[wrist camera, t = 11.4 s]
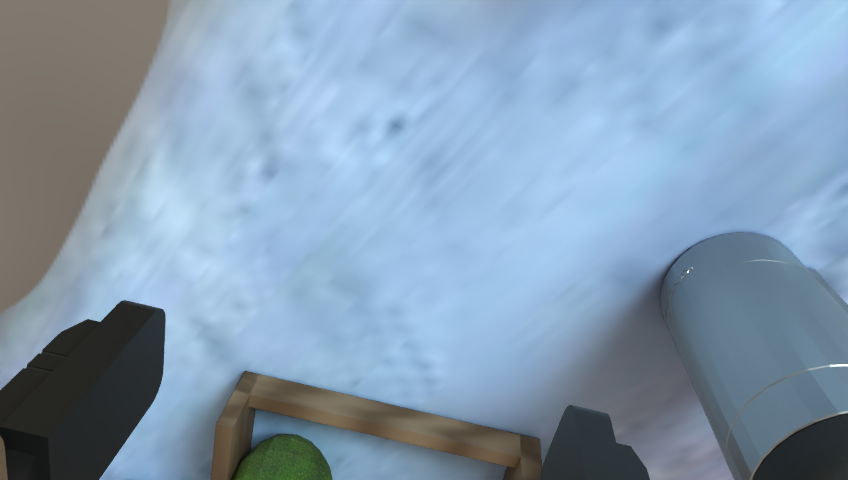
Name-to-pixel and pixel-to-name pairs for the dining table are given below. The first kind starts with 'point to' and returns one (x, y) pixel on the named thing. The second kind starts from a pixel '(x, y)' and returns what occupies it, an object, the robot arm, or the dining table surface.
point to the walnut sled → (363, 426)
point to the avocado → (284, 461)
